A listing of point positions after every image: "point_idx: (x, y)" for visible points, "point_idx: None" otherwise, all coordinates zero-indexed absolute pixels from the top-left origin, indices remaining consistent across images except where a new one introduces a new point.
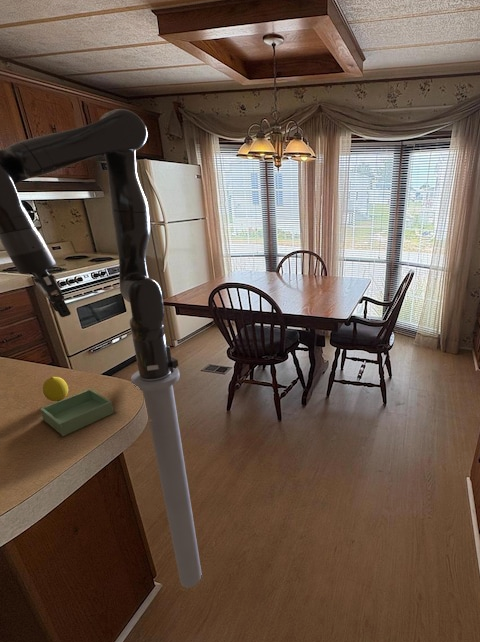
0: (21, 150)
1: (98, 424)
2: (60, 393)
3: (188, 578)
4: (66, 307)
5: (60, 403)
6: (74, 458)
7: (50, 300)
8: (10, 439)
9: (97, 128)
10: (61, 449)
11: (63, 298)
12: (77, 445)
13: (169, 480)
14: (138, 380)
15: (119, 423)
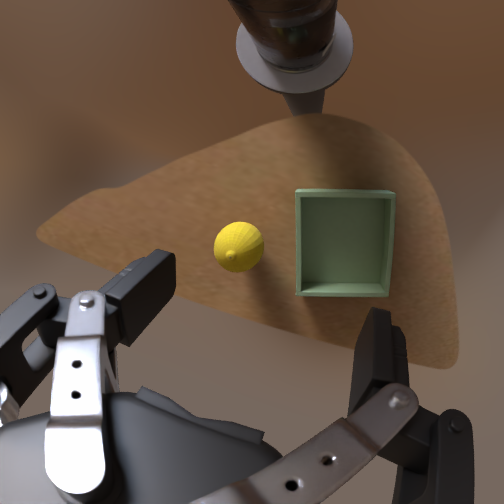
0: None
1: (401, 230)
2: (263, 246)
3: None
4: (389, 346)
5: (301, 260)
6: (449, 297)
7: (136, 334)
8: (315, 335)
9: None
10: (414, 301)
11: (463, 419)
12: (426, 282)
13: (318, 112)
14: (291, 79)
15: (430, 205)
